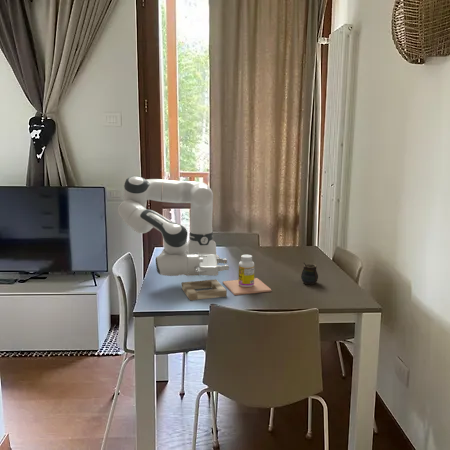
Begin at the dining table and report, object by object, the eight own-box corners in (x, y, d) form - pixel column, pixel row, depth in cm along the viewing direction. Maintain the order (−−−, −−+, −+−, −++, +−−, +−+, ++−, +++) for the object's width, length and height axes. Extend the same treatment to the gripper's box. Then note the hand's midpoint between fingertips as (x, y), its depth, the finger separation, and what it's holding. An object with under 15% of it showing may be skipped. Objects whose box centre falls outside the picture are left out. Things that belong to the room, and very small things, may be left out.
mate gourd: (321, 283, 205) (322, 261, 203) (311, 287, 200) (312, 264, 198) (307, 279, 210) (308, 257, 208) (297, 283, 205) (298, 261, 203)
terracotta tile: (222, 283, 205) (222, 281, 204) (257, 279, 209) (257, 278, 209) (234, 295, 190) (234, 293, 190) (271, 291, 194) (271, 289, 194)
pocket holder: (181, 288, 198) (181, 282, 197) (215, 284, 202) (216, 279, 202) (189, 300, 184) (189, 294, 183) (226, 296, 188) (226, 290, 188)
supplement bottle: (237, 282, 202) (237, 253, 200) (252, 282, 203) (253, 253, 200) (239, 288, 196) (239, 258, 193) (255, 287, 196) (255, 257, 194)
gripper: (194, 264, 185) (229, 263, 186) (194, 251, 205) (226, 250, 206) (195, 279, 187) (229, 279, 188) (194, 265, 207) (226, 264, 208)
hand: (228, 264), depth 197 cm, fingers open, 8 cm apart
